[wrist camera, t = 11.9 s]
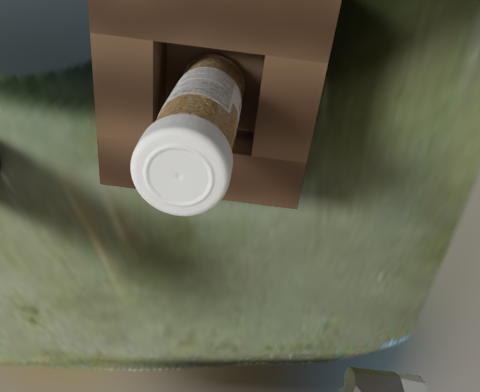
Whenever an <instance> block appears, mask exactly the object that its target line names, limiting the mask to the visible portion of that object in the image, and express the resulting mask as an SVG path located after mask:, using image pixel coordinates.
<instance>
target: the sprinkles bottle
mask: <svg viewBox="0 0 480 392" xmlns="http://www.w3.org/2000/svg"><path fill="white" fill-rule="evenodd" d="M244 93H245V81H244V77H243V74H242V73H241V71H240V69H239V67H238V66H237V65H236V64H235V63H234V62H233V61H232V60H231V59H229V58H227V57H225V56H223V55H219V54H215V53H206V54H204V55H200V56H198V57H196V58H195V59H193V60H192V61H191V62H190V63H189V64H188V65H187V66H186V68H185V70H184V72H183V75H182V77H181V79H180V80H179V81H178V83H177V84H176V86H175V88H174V89H173V91H172V92H171V94H170V96H169V97H168V99H167V100H166V102H165V104H164V105H163V107H162V108H161V110H160V112H159V114H158V117H157V119H156V121H155V122H154V123H153V124H151V125H150V126H149V127H148V128H147V129H146V130H145V132H144V133H143V135H142V136H141V138H140V140H139V142H138V143H137V145H136V147H135V149H134V152H133V154H132V158H131V165H130V170H131V176H132V180H133V183H134V185H135V187H136V189H137V191H138V192H139V194H140V195H141V196H142V197H143V198H144V199H145V200H146V201H147V202H148V203H149V204H150V205H152V206H153V207H155V208H157V209H158V210H160V211H163V212H165V213H168V214H172V215H177V216H192V215H198V214H201V213H204V212H206V211H208V210H210V209H211V208H213V207H214V206H216V205H217V204H218V203H219V202H220V201H221V200H222V198H223V197H224V195H225V194H226V192H227V189H228V187H229V183H230V179H231V174H232V168H233V154H232V148H233V143H234V139H235V136H236V131H237V127H238V122H239V117H240V112H241V105H242V100H243V97H244Z"/></svg>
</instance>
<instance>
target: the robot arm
mask: <svg viewBox="0 0 480 392" xmlns="http://www.w3.org/2000/svg"><path fill="white" fill-rule="evenodd" d="M344 383H345V386H344V387H342V388H340V389H339V390H338V392H428V390H427V387H426V384H425V381H424V380H423V379H422V377H421V376H418V375H410V374H402V373H395V372H392V371H383V370H375V369H366V368H357V367H349V368H348V369H347V370H346V372H345V375H344Z"/></svg>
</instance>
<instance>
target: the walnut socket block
mask: <svg viewBox="0 0 480 392" xmlns="http://www.w3.org/2000/svg"><path fill="white" fill-rule="evenodd" d="M341 1H342V0H88V9H89V24H90V38H91V53H92V68H93V83H94V98H95V113H96V128H97V143H98V158H99V173H100V184H103V185H111V186H119V187H127V188H135V189H136V187H135V185H134V183H133V180H132V176H131V170H130V165H131V158H132V154H133V152H134V149H135V147H136V145H137V143H138V142H139V140H140V138H141V136H142V135H143V133H144V132H145V130H146V129H147V128H148V127H149V126H150V125H151V124H153V123H154V122H155V121H156V119H157V117H158V114H159V112H160V110H161V108H162V107H163V105H164V104H165V102H166V100H167V99H168V97H169V96H170V94H171V92H172V91H173V89H174V88H175V86H176V84H177V83H178V81H179V80H180V79H181V77H182V75H183V72H184V70H185V68H186V66H187V65H188V64H189V63H190V62H191V61H192V60H193V59H195V58H196V57H198V56H200V55H204V54H206V53H215V54H219V55H223V56H225V57H227V58H229V59H231V60H232V61H233V62H234V63H235V64H236V65H237V66H238V67H239V69H240V71H241V73H242V74H243V77H244V81H245V93H244V97H243V100H242V105H241V112H240V117H239V122H238V127H237V131H236V136H235V139H234V143H233V148H232V154H233V168H232V174H231V179H230V183H229V187H228V189H227V192H226V194H225V195H224V197H223V198H222V200H229V201H236V202H244V203H252V204H260V205H268V206H275V207H283V208H291V209H297V207H298V202H299V197H300V193H301V188H302V183H303V179H304V174H305V169H306V165H307V160H308V155H309V151H310V146H311V141H312V137H313V132H314V127H315V123H316V118H317V113H318V109H319V104H320V99H321V95H322V90H323V85H324V81H325V76H326V71H327V67H328V62H329V57H330V53H331V48H332V43H333V39H334V34H335V29H336V25H337V20H338V15H339V11H340V6H341Z"/></svg>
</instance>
